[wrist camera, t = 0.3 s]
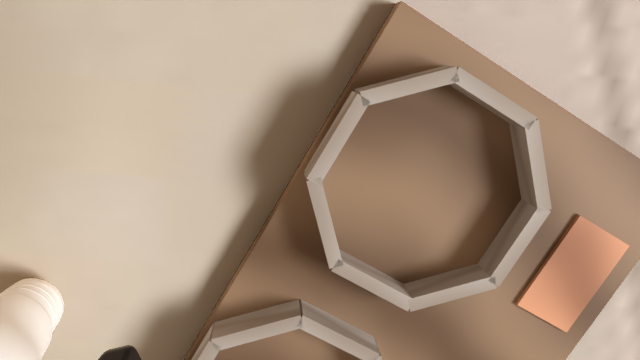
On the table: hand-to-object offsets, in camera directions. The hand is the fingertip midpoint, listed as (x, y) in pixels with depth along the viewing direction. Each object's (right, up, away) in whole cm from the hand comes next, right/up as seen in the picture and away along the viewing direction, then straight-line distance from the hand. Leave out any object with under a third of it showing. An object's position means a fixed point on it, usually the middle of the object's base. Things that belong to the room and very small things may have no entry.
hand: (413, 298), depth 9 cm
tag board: (+2, -5, +17) cm, 18 cm away
